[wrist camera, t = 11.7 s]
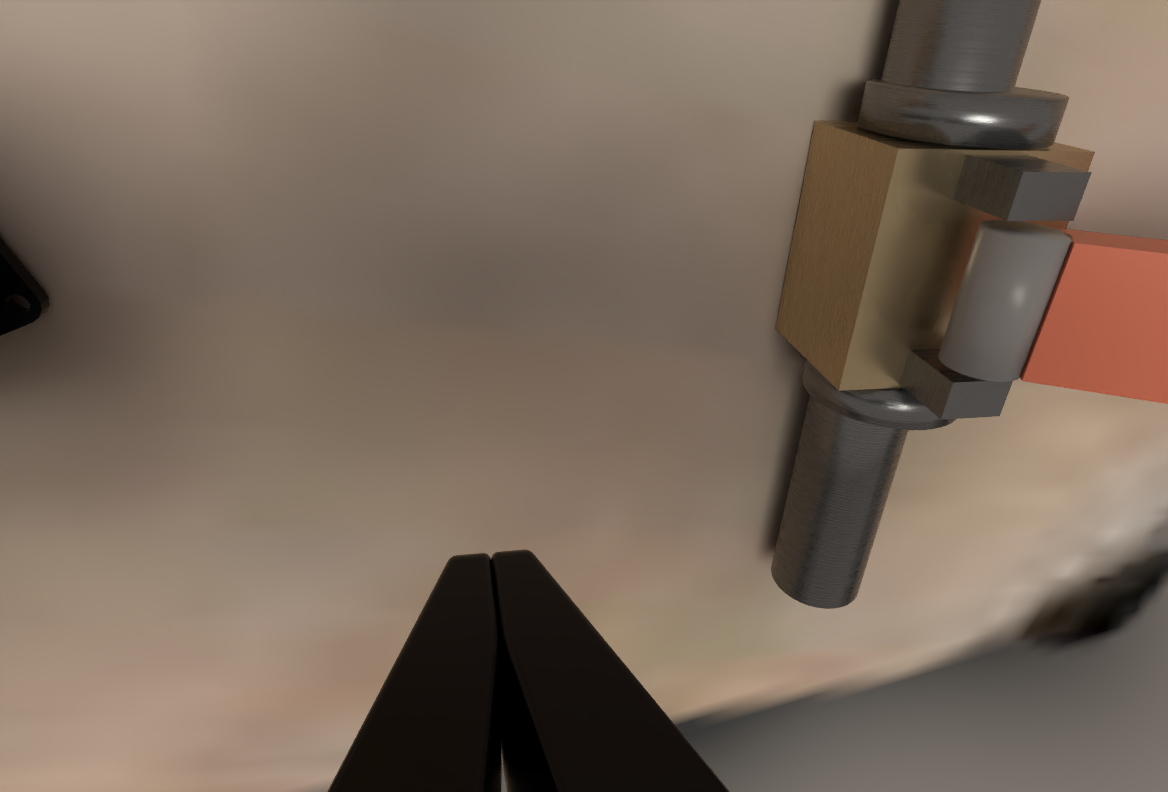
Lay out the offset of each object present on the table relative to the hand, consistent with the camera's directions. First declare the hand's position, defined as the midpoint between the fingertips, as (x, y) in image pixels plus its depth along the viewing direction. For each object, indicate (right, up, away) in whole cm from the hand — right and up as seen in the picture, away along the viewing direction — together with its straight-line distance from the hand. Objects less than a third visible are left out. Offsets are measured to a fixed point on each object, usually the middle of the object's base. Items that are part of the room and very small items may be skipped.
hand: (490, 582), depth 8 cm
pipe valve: (+9, +7, +13) cm, 18 cm away
